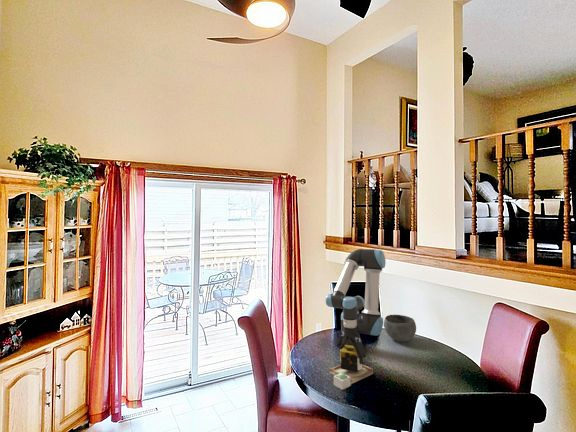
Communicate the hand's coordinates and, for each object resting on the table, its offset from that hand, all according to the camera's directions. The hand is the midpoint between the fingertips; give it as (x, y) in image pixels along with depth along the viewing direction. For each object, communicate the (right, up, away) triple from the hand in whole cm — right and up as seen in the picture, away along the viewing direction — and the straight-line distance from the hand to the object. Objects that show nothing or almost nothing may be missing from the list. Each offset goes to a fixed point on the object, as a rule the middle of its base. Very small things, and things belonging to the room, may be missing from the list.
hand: (350, 364), depth 176 cm
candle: (+1, -2, +1) cm, 2 cm away
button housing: (-7, -5, -12) cm, 15 cm away
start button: (-7, -3, -12) cm, 15 cm away
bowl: (+43, -4, +44) cm, 61 cm away
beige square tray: (0, -5, 0) cm, 5 cm away
